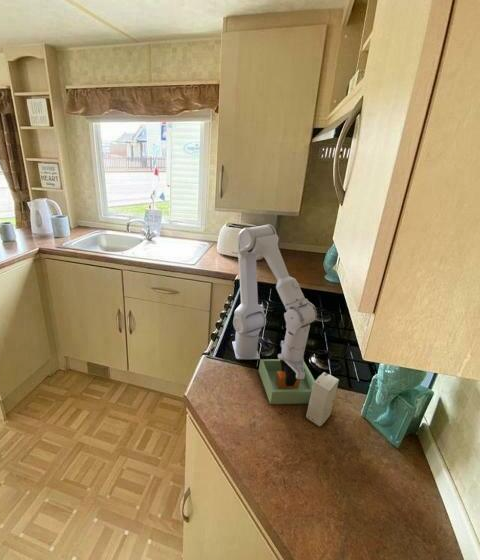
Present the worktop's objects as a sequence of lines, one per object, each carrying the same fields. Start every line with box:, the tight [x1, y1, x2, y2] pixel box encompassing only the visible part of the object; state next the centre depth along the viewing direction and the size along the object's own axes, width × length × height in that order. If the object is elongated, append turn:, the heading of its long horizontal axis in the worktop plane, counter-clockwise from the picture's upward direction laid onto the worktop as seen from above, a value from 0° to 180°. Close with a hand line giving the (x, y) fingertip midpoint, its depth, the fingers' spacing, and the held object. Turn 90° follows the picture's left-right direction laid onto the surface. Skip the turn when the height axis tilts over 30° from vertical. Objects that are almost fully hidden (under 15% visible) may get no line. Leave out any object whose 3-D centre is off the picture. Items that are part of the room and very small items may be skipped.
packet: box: [276, 371, 300, 389], centre depth 92 cm, size 3×6×4 cm, turn 93°
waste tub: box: [258, 358, 316, 405], centre depth 93 cm, size 14×14×4 cm
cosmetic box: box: [305, 371, 340, 427], centre depth 81 cm, size 6×4×12 cm
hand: (287, 380), depth 93 cm, fingers closed on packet, 3 cm apart
